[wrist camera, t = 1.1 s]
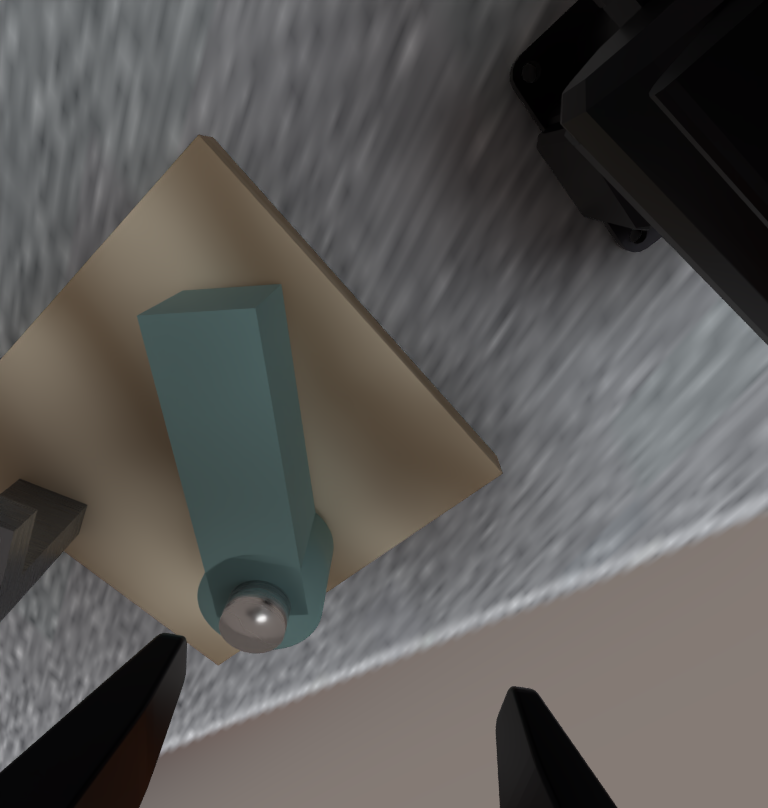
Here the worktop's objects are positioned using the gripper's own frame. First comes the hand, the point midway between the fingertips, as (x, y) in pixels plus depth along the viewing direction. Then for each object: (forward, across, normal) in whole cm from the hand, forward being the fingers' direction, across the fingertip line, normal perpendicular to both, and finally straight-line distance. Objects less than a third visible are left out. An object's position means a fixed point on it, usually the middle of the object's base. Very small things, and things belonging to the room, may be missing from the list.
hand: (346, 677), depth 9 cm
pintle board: (+11, +5, +3) cm, 13 cm away
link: (+10, +4, +2) cm, 10 cm away
